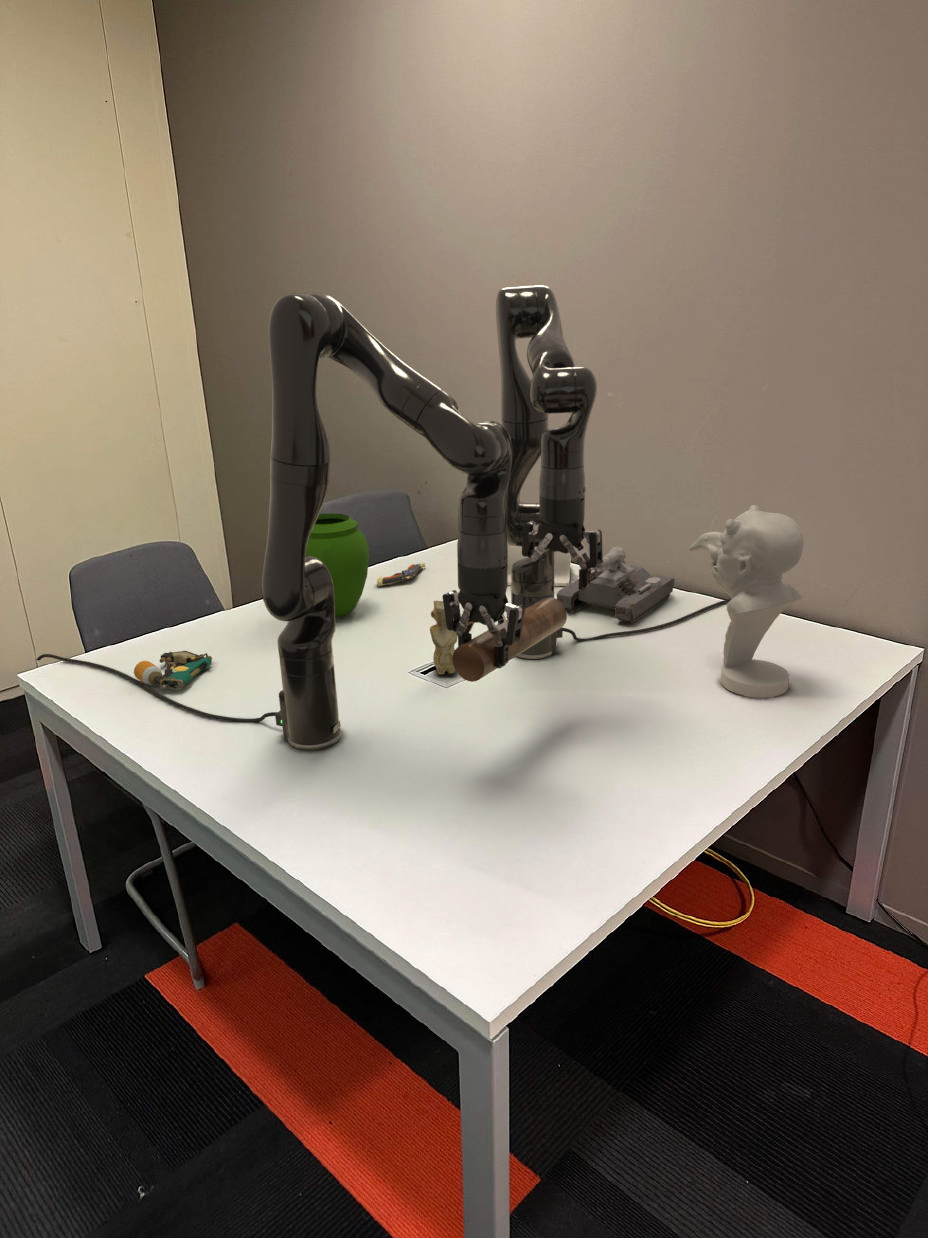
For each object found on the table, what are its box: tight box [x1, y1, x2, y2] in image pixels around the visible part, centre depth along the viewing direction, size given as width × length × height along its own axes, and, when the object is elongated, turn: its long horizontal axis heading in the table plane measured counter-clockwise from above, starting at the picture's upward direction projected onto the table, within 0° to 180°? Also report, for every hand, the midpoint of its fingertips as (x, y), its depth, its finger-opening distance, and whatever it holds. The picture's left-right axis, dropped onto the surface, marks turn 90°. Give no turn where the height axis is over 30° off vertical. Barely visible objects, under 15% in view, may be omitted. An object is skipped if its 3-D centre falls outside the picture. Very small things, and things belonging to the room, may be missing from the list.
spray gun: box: [133, 650, 213, 690], centre depth 180 cm, size 4×17×15 cm
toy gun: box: [376, 562, 426, 587], centre depth 240 cm, size 3×19×10 cm
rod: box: [453, 597, 568, 683], centre depth 140 cm, size 26×6×6 cm, turn 145°
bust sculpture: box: [688, 504, 804, 699], centre depth 167 cm, size 16×24×35 cm, turn 28°
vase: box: [306, 512, 370, 620], centre depth 209 cm, size 20×20×24 cm
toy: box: [556, 546, 676, 624], centre depth 212 cm, size 25×20×15 cm
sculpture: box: [429, 600, 458, 675], centre depth 177 cm, size 6×7×15 cm
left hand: (483, 661), depth 134 cm, fingers closed on rod, 6 cm apart
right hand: (561, 584), depth 147 cm, fingers open, 8 cm apart
